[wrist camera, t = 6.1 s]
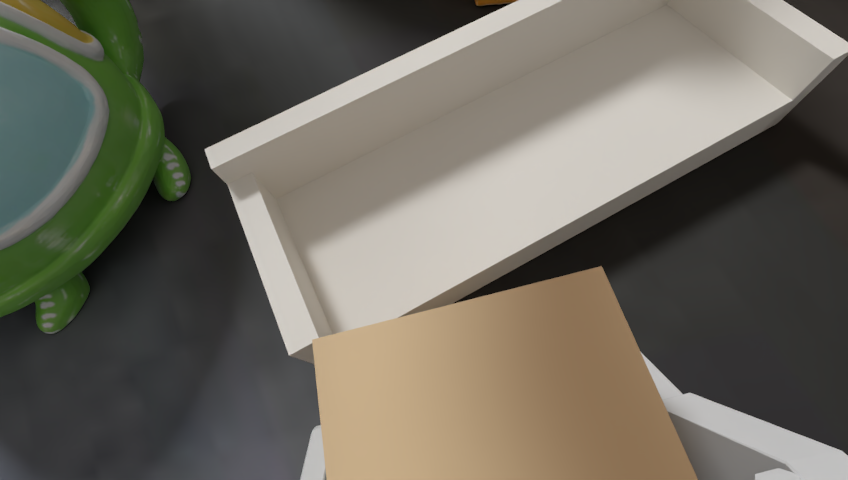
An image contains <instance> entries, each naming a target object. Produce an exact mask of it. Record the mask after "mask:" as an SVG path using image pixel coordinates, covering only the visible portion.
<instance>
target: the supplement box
mask: <svg viewBox="0 0 848 480" xmlns="http://www.w3.org/2000/svg"><path fill="white" fill-rule="evenodd" d="M516 1H518V0H475V2H476V5H477V6H483V5H495V4H498V5H500V4H507V3H514V2H516Z"/></svg>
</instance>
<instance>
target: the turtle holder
mask: <svg viewBox="0 0 848 480" xmlns="http://www.w3.org/2000/svg"><path fill="white" fill-rule="evenodd" d="M60 1H61V2H62V3H63V4H64V5H65V7H66V8H67V10H68V11H69V12H70V14H71V15H72V17H73V19H74V21H75V23H76V25H77V27H76V26H75V25H74V24H72V23H71V22H70V21H68V20H67V19H66V18H64V17H63V16H62V15H60V14H59V13H58V12H56V11H55V10H53V9H52V8H51V7H49V6H48V5H46V4H45V3H43V2H42V1H40V0H0V317H3V316H5V315H7V314H10V313H13V312H15V311H17V310H19V309H21V308H23V307H25V306H27V305H29V304H31V303H33V302H35V305H36V322H37V326H38V327H39V329H40V330H41V331H43V332H44V333H48V334H53V333H57V332H59V331H60V330H62V329H63V328H64V327H65V326H66V325H67V324H69V323H70V322H71V321H72V320H73V319H74V318H75V316H76V315H77V313H78V312H79V311H80V309H81V308H82V306H83V304H84V302H85V301H86V299H87V297H88V294H89V292H90V287H89V284H88V282H87V279H86V278H85V276H84V274H83V273H82V271H83V270H84V269H85V268H87V267H88V266H89V265H90V264H91V263H92V262H93V261H94V260H95V259H96V258H97V257H98V256H99V255H100V254H101V253H102V252H103V251H104V250H105V249H106V248H107V247H108V245H109V244H110V243H111V242H112V241H113V240H114V239H115V238H116V236H117V235H118V234H119V233H120V232H121V230H122V229H123V228H124V226H125V225H126V224H127V222H128V221H129V220H130V218H131V217H132V215H133V214H134V212H135V211H136V210H137V208H138V207H139V205H140V203H141V202H142V200H143V198H144V196H145V195H146V193H147V191H148V189H149V186H150V184H151V182H152V180H153V181H154V183H155V186H156V188H157V190H158V192H159V194H160V195H161V196H162V197H163V198H164V199H166V200H168V201H176V200H178V199H180V198H181V197H182V196H183V195H185V194H186V192H187V191H188V189H189V186H190V181H191V175H190V170H189V167H188V165H187V163H186V161H185V159H184V157H183V155H182V154H181V152H180V151H179V150H178V149H177V148H176V146H175V145H174V144H172V143H171V142H170V141H169V140H168V139H167V138H166V137H165V132H164V123H163V118H162V115H161V112H160V110H159V108H158V106H157V105H156V103H155V101H154V100H153V98H152V97H151V95H150V94H149V92H148V91H147V90H146V89H145V88H144V86H143V85H142V84H141V83H140V82H139V81H140V77H141V72H142V68H143V62H144V55H143V46H142V44H141V39H142V36H141V33H140V31H139V28H138V23H137V19H136V16H135V14H134V11H133V8H132V6H131V3H130V1H129V0H60Z"/></svg>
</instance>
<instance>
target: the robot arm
mask: <svg viewBox="0 0 848 480" xmlns="http://www.w3.org/2000/svg"><path fill="white" fill-rule="evenodd" d="M641 354H642V353H641ZM642 356H643V359H644V361H645V363H646V365H647V368H648V370H649V372H650V374H651V376H652V379H653V381H654V383H655V385H656V387H657V390H658V392H659V394H660V396H661V399H662V401H663V403H664V405H665V407H666V410H667V412H668V414H669V416H670V419H671V421H672V423H673V425H674V427H675V430H676V432H677V434H678V436H679V438H680V441H681V443H682V445H683V447H684V450H685V452H686V454H687V456H688V458H689V461H690V463H691V465H692V467H693V469H694V472H695V474H696V476H697V478H698V480H848V456H847V455H846V454H845V453H844V452H842V451H841V450H838V449H836V448H833V447H830V446H828V445H825V444H823V443H820V442H817V441H815V440H812V439H809V438H807V437H804V436H802V435H799V434H796V433H794V432H791V431H789V430H786V429H783V428H781V427H778V426H776V425H773V424H770V423H768V422H765V421H762V420H760V419H757V418H755V417H752V416H749V415H747V414H744V413H742V412H739V411H736V410H734V409H731V408H729V407H726V406H723V405H721V404H718V403H716V402H713V401H710V400H708V399H705V398H702V397H700V396H697V395H695V394H692V393H687V394H682V393H681V392H680V391H679V390H678V389H677V388H676V387H675V386H674V385H673V384H672V383H671V382H670V381H669V380H668V379H667V378H666V377H665V376H664V375H663V374H662V373H661V372H660V371H659V370H658V369H657V368H656V367H655V366H654V365H653V364H652V363H651V362H650V361H649V360H648V359H647V358H646V357H645V356H644V355H643V354H642ZM300 480H327V478H326V469H325V459H324V450H323V440H322V431H321V425H320V426H315V428H314V429H313V431H312V432H311V437H310V441H309V445H308V449H307V453H306V457H305V462H304V466H303V470H302V474H301V478H300Z"/></svg>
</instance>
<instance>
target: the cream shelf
mask: <svg viewBox="0 0 848 480" xmlns="http://www.w3.org/2000/svg"><path fill="white" fill-rule="evenodd" d="M847 56H848V42H846V41H845V40H843V39H842V38H840V37H839V36H837V35H836V34H834V33H833V32H831V31H829V30H828V29H826V28H825V27H823V26H822V25H820V24H819V23H817V22H816V21H814V20H812V19H811V18H809V17H808V16H806V15H805V14H803V13H802V12H800V11H799V10H797V9H796V8H794V7H792V6H791V5H789V4H788V3H786V2H785V1H783V0H518V1H516V2H514V3H512V4H509V5H507V6H505V7H503V8H501V9H499V10H497V11H495V12H493V13H490V14H488V15H486V16H484V17H482V18H480V19H478V20H476V21H474V22H471V23H469V24H467V25H465V26H463V27H461V28H459V29H457V30H455V31H452V32H450V33H448V34H446V35H444V36H442V37H440V38H438V39H436V40H434V41H431V42H429V43H427V44H425V45H423V46H421V47H419V48H417V49H415V50H412V51H410V52H408V53H406V54H404V55H402V56H400V57H398V58H396V59H393V60H391V61H389V62H387V63H385V64H383V65H381V66H379V67H377V68H375V69H372V70H370V71H368V72H366V73H364V74H362V75H360V76H358V77H356V78H353V79H351V80H349V81H347V82H345V83H343V84H341V85H339V86H337V87H334V88H332V89H330V90H328V91H326V92H324V93H322V94H320V95H318V96H315V97H313V98H311V99H309V100H307V101H305V102H303V103H301V104H299V105H297V106H294V107H292V108H290V109H288V110H286V111H284V112H282V113H280V114H278V115H275V116H273V117H271V118H269V119H267V120H265V121H263V122H261V123H259V124H256V125H254V126H252V127H250V128H248V129H246V130H244V131H242V132H240V133H237V134H235V135H233V136H231V137H229V138H227V139H225V140H223V141H221V142H219V143H216V144H214V145H212V146H210V147H208V148H206V149H204V150H205V153H206V156H207V158H208V161H209V164H210V167H211V169H212V170H213V171H214V172H215V173H216V174H217V175H218V176H219V177H220V178H221V179H222V180H223V181H224V182H225V183H226V184H227V185H228V188H229V191H230V193H231V196H232V199H233V202H234V204H235V207H236V210H237V213H238V216H239V218H240V221H241V224H242V227H243V229H244V232H245V235H246V238H247V241H248V243H249V246H250V249H251V252H252V254H253V257H254V260H255V263H256V265H257V268H258V271H259V274H260V277H261V279H262V282H263V285H264V288H265V290H266V293H267V296H268V299H269V302H270V304H271V307H272V310H273V313H274V315H275V318H276V321H277V324H278V326H279V329H280V332H281V335H282V338H283V340H284V343H285V346H286V349H287V351H288V354H289V356H292V357H295V358H297V359H300V360H303V361H306V362H309V363H312V364H314V354H313V345H312V340H313V339H316V338H320V337H324V336H328V335H332V334H336V333H340V332H344V331H348V330H352V329H356V328H360V327H364V326H368V325H372V324H375V323H379V322H383V321H387V320H391V319H395V318H399V317H403V316H407V315H411V314H415V313H419V312H423V311H427V310H431V309H435V308H438V307H442V306H446V305H450V304H453V303H454V302H456V301H458V300H460V299H462V298H463V297H465V296H467V295H469V294H471V293H472V292H474V291H476V290H478V289H480V288H481V287H483V286H485V285H487V284H489V283H490V282H492V281H494V280H496V279H498V278H499V277H501V276H503V275H505V274H507V273H508V272H510V271H512V270H514V269H516V268H517V267H519V266H521V265H523V264H525V263H527V262H528V261H530V260H532V259H534V258H536V257H537V256H539V255H541V254H543V253H545V252H546V251H548V250H550V249H552V248H554V247H555V246H557V245H559V244H561V243H563V242H564V241H566V240H568V239H570V238H572V237H573V236H575V235H577V234H579V233H581V232H582V231H584V230H586V229H588V228H590V227H591V226H593V225H595V224H597V223H599V222H600V221H602V220H604V219H606V218H608V217H609V216H611V215H613V214H615V213H617V212H619V211H620V210H622V209H624V208H626V207H628V206H629V205H631V204H633V203H635V202H637V201H638V200H640V199H642V198H644V197H646V196H647V195H649V194H651V193H653V192H655V191H656V190H658V189H660V188H662V187H664V186H665V185H667V184H669V183H671V182H673V181H674V180H676V179H678V178H680V177H682V176H683V175H685V174H687V173H689V172H691V171H692V170H694V169H696V168H698V167H700V166H701V165H703V164H705V163H707V162H709V161H711V160H712V159H714V158H716V157H718V156H720V155H721V154H723V153H725V152H727V151H729V150H730V149H732V148H734V147H736V146H738V145H739V144H741V143H743V142H745V141H747V140H748V139H750V138H752V137H754V136H756V135H757V134H759V133H761V132H763V131H765V130H766V129H768V128H770V127H772V126H774V125H775V124H777V123H778V122H779V121H780V120H781V119H783V118H784V117H785V116H786V115H787V114H788V113H789V112H790V111H791V110H792V109H793V108H794V107H795V106H796V105H797V104H798V103H799V102H800V101H801V100H802V99H803V98H804V97H805V96H806V95H807V94H808V93H809V92H810V91H811V90H812V89H814V88H815V87H816V86H817V85H818V84H819V83H820V82H821V81H822V80H823V79H824V78H825V77H826V76H827V75H828V74H829V73H830V72H831V71H832V70H833V69H834V68H835V67H836V66H837V65H838V64H839V63H840V62H841V61H842V60H843V59H844V58H846V57H847Z"/></svg>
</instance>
